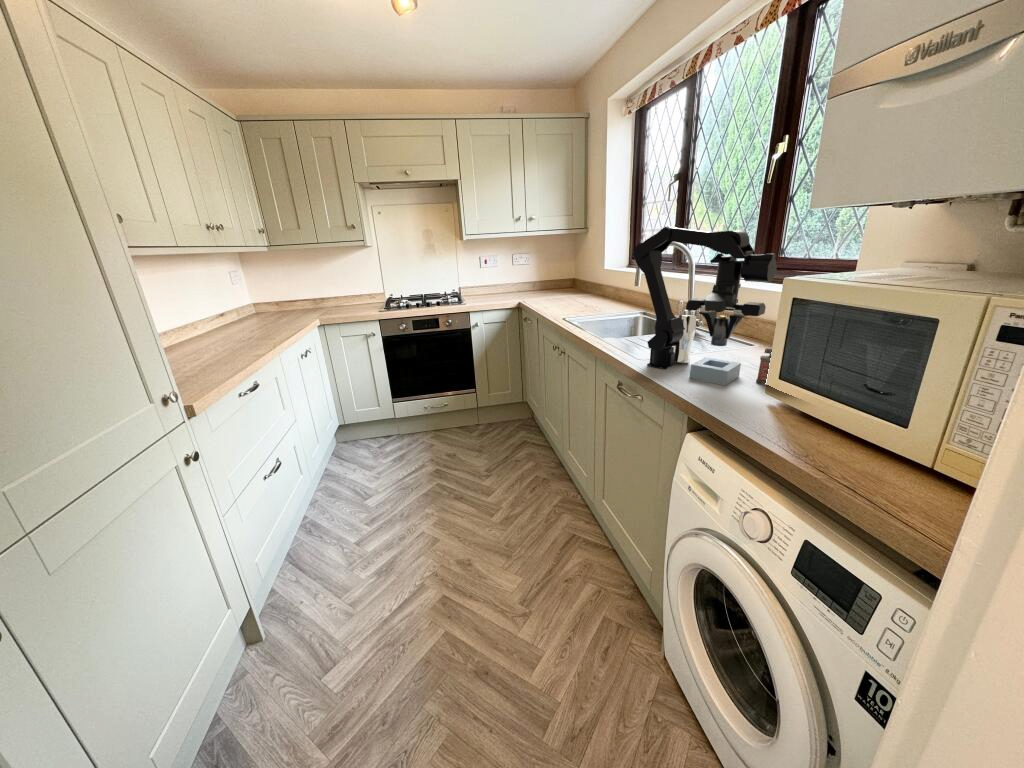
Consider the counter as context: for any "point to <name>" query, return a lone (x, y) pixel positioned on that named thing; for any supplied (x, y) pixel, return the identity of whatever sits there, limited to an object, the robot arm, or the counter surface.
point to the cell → (720, 331)
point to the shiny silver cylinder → (685, 339)
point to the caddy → (715, 370)
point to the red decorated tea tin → (764, 367)
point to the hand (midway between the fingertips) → (719, 337)
